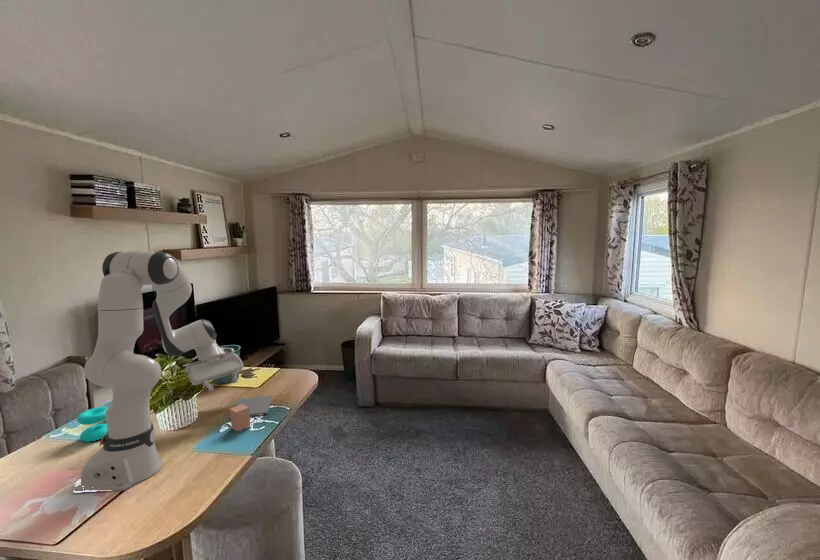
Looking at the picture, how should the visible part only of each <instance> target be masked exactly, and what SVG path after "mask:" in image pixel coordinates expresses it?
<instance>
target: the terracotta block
mask: <svg viewBox="0 0 820 560" xmlns="http://www.w3.org/2000/svg"><path fill="white" fill-rule="evenodd" d="M229 413H230V414H229V415H230V424H231V425H230V427H231V429H232V428H233V429H234V430H233V429H232V430H233V431H235V430H236V431H240V430H242V429H244V428H246V427H248V426H250V427H251V419H250V418H251V417H250V416H249V407H247V406H245V405H243V404H241V405H239V406H236V405H235V406H233V407H231V408H229ZM236 431H235V432H236ZM240 432H241V431H240Z"/></svg>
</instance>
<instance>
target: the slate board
mask: <svg viewBox="0 0 820 560" xmlns="http://www.w3.org/2000/svg"><path fill="white" fill-rule="evenodd" d="M272 398H273V397H272V395H262V396H257V397H255V396H254V397H247V398H240V399H238V400H237V402H236V404H235V407H236V406H239V405H241V404H243V405H245V406H247V407H249V416H252V417H254V416H253V415H259V414H266V415H269V412H268V411H270V406H271V402H272ZM259 416H260V415H259Z"/></svg>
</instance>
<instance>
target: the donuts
mask: <svg viewBox="0 0 820 560" xmlns="http://www.w3.org/2000/svg"><path fill="white" fill-rule="evenodd" d="M108 407H109V406H108ZM108 407H107V406H99V407H97V406H96V407H93V408H90V409H87V410H85V411H84V412H81V413H80V414H78V416H77V419H76V420H77V422H78V423H79V424H81V425H84V426H85V425H88V426H90V427H88V428H86V429H84V430H83V431H82V432H81V433H80V436H79V439H80V440H81V442H83V441H84V442H83V443H90V442H89V441H94V440H98V441H100V440H99V439H101V440H102V438H103V437H104V436H105V435H106V432H108V430H107V423H101V422H104V421H106V416H105V413H106V410H107V408H108ZM98 423H99V424H98ZM91 425H92V426H91ZM94 442H95V441H94Z"/></svg>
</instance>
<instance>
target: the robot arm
mask: <svg viewBox="0 0 820 560" xmlns="http://www.w3.org/2000/svg"><path fill="white" fill-rule="evenodd" d="M101 266H102V268H101V269H102V274H103V276H104V277H103V278H102V279H101V281H100V285H99V291H98V299H97V300H98V301H97V303H98V304H97V323H98V324H97V325H98V326H97V327H98V330H97V331H98V333H97V339H96V344H95V348H94V350H93V353H92V355H91V356H90V357H89V358H88V359H87V360H86V362H85V364H84V367H83V375H84V376H85V378H86V379H87V380H88V381H89V382H91V383H92V384H94V385H96V386H98V387H101V388H108V389H110V390H111V391H112V398H111V399H112V400H111V404H110V405H109V406H108V408H107V410H106V413H105V416H106V419H105V421H106V423H105V424H107V430H108V432H106V435H105V436H104V437H103V438H102V439H101V440H99V442H98V443H99V447H100V449H98V451H96V452H95V453H93V455H92V456H90V458H89V459H88V460H87V461H86V462H85V463H84V465H83V468H82V469H81V475H80V476H79V478H78V479H81V485H79V486H77V487H74V489H73V488H72V491H73V490H75V491H83V490H84V491H85V490H90V491H91V490H119V491H118V492H120V491H121V492H122V491H125V490H127V489H129V488H130V487H132V486H134V485H136V484H137V483H140V482H142V481H144V480H146V479H148V478H150V477H152V476H154V475H155V474H156V473H157V472H158V471H159V470H161V468H162V466H163V461H162V459H161V456H160V455H159V452H158V450H157V449H158V448H157V447H156V446H157V445H156V442H155V441H156V433H155V429H154V423H153V422H152V419H151V417H152V416H151V409H150V401H151V399H150V397H151V394H152V390H153V389H154V388H153V387H155V386H156V385H157V384H158V382H159V380H161V376H162V367H161V365H160V363H159V362H158V361H157V360H155V359H153V358H151V357H148V355H144V354H137V353H134V349H135V346H136V345H135V344H136V342H137V340H138V338H139V337H141V335H142V334H143V332H144V301H143V299H144V298H143V293H142V288H143V286H151V285H152V286H153V288H154V290H155V292H156V296H155V297H156V298H155V299H154V300H153V301H152V311H153V312H154V313H153V314H154V318H155V321H156V324H157V326H158V330H159V333H160V337H161V345H162V348H163V350H164V352H165V353H166V354H167V355H168V356H172V357H180V356H182V355H183V354H185V353H187V352H190V351H191V350H195V352H196V358H197V359H198V360H197V361H193V362H190V363H188V364H187V365H186V366H185V371H186V373H187V374H188V377H189V380H190V384H191V383H192V384H191V385H192V386H197V385H200V384H202V385H203V386H204V387H205V388H207V390H208V392H211V391H214V390H215V387H214V385H213V384H214V383H211V384H210V383H209V382H210V381H213V380H214V379H217V378H220V377H224V376H227V375H230V374H232V376H234V378H232V382H231V383H232V384H235V383H238V381H239V380H238V379H237V378H236V376H237V372H239V373H241V372H242V371H243V368H244V363H243V361H242V359H241V357H240V355H239V356H238V355H237V354H235V353H234V349H233V348H220V346H219V345H218V343H217V336H218V334H217V332H216V330H215V328H214V325H213V324H212V322H211V321H209V320H207V319H198V320H196V321H193V322H191V323H189V324H187V325H184V326H182V327H180V328H177V329H172V325H171V323H170V316H171V315H172V314H173V313H174V312H175V311H176V310H177V309H179V308H180V307H181V306H182V305H184V304H186V302H187V301H188V300H189V299H190V297H191V295H192V291H193V287H192V284H191V281H190V279H189V277H188V275H187V273H186V271H185V270H184V268H183V267H182V265H181V263H180V262H179V261H178V260H177V259H176V257H174V256H173V255H172V254H169V253H167V252H161V251H157V252H155V251H145V250H130V251H129V250H128V251H125V250H124V251H122V250H120V251H115V252H111V253H109V254H108V255H107V256H106V257H105V258H104V260H103V262H102V265H101ZM101 446H102V447H101ZM82 486H84V487H82ZM92 487H93V488H92ZM83 488H84V489H83Z"/></svg>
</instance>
